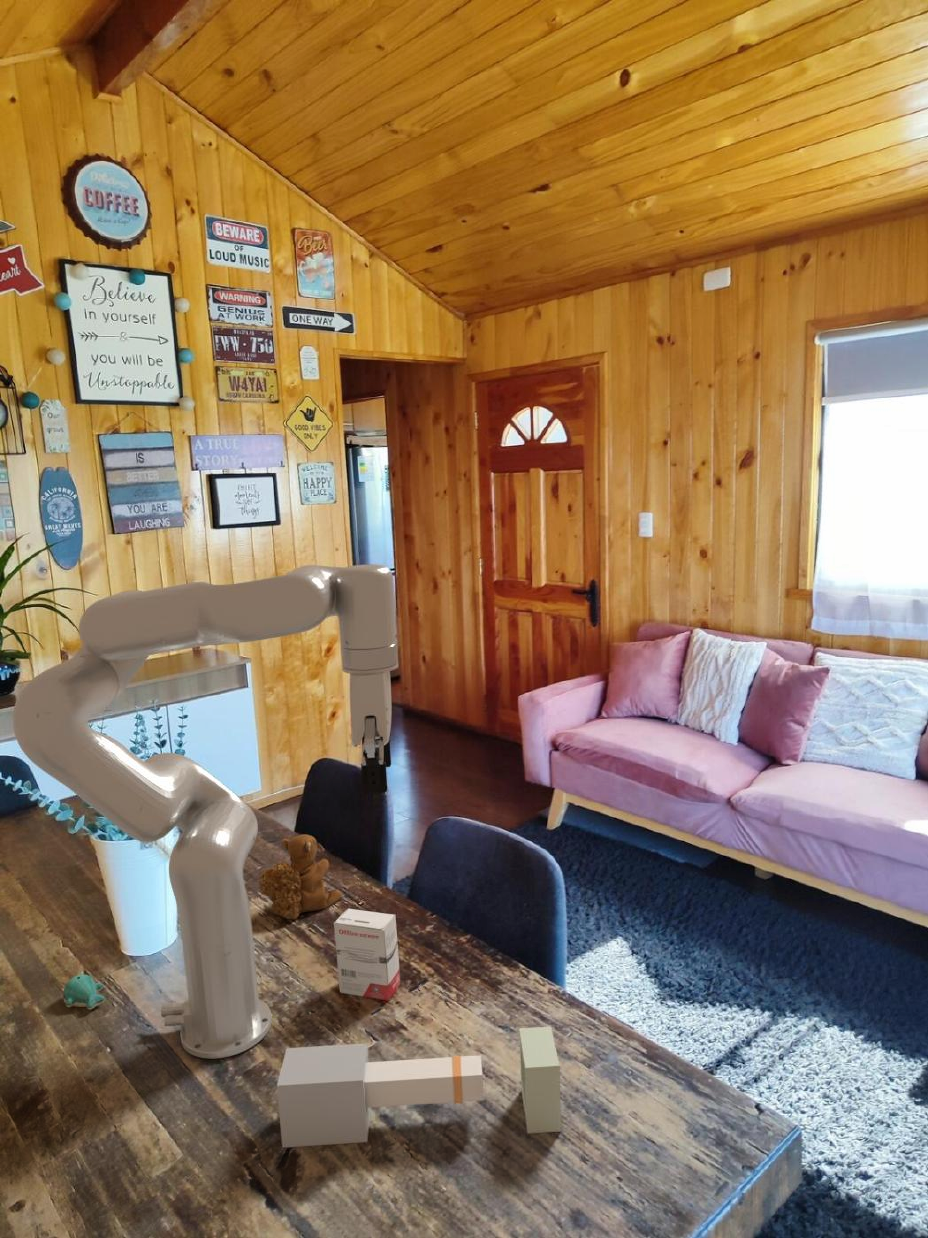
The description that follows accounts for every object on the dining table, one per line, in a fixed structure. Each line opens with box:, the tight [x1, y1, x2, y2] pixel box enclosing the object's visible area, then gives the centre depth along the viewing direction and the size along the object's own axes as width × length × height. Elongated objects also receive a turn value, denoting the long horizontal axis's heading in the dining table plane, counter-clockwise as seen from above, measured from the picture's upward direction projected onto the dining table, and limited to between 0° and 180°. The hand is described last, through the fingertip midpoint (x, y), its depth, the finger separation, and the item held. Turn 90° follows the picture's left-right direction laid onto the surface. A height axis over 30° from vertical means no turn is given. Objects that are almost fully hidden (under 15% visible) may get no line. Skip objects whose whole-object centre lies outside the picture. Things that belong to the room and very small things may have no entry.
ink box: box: [333, 908, 402, 1002], centre depth 126 cm, size 9×5×12 cm, turn 71°
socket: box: [518, 1026, 562, 1134], centre depth 100 cm, size 4×7×9 cm, turn 2°
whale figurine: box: [62, 974, 106, 1010], centre depth 126 cm, size 6×7×4 cm
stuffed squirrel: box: [256, 833, 343, 921], centre depth 151 cm, size 10×14×13 cm
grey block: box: [276, 1042, 372, 1148], centre depth 99 cm, size 10×6×8 cm, turn 92°
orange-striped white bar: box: [364, 1054, 484, 1109], centre depth 99 cm, size 24×4×4 cm, turn 92°
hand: (377, 779), depth 113 cm, fingers open, 9 cm apart
